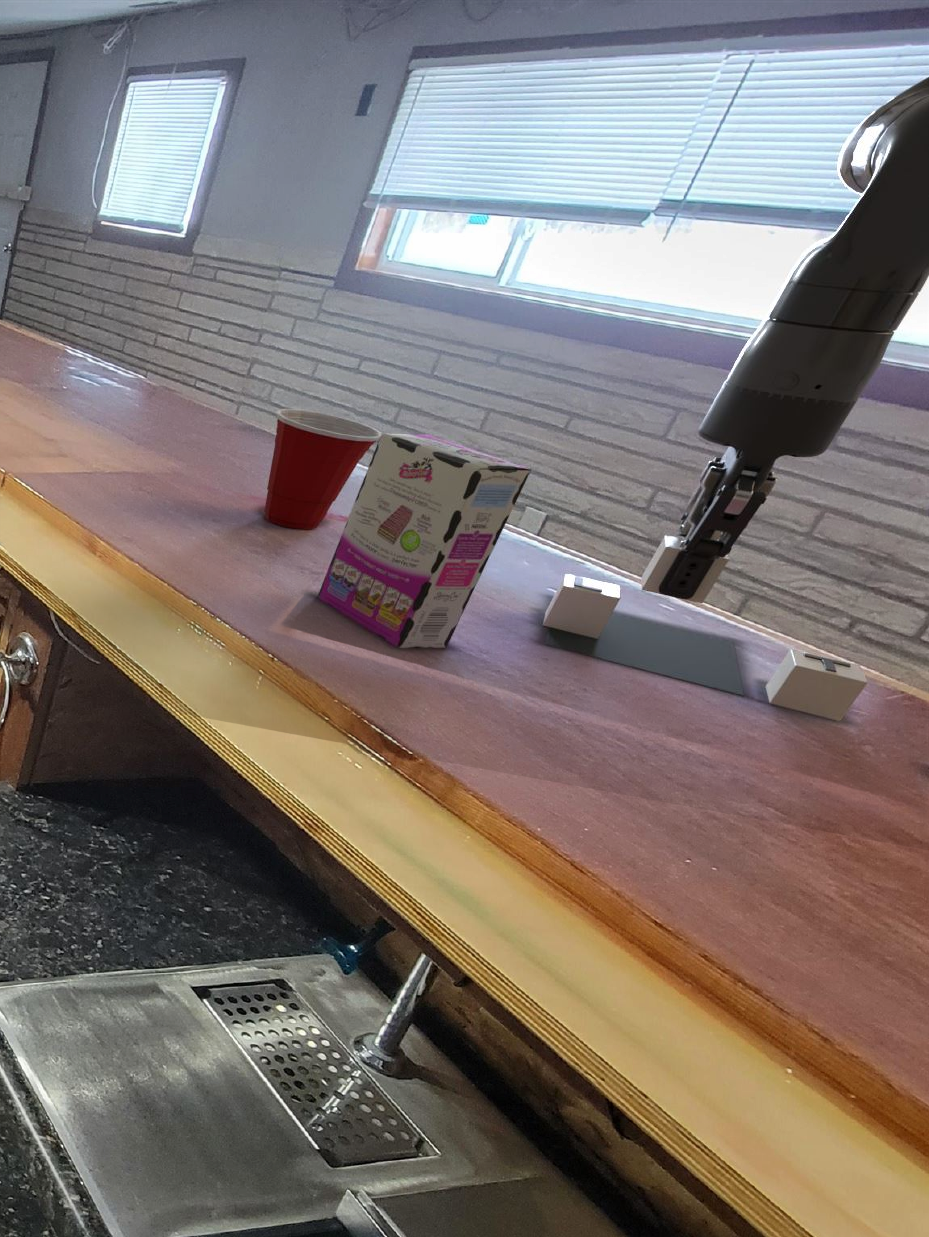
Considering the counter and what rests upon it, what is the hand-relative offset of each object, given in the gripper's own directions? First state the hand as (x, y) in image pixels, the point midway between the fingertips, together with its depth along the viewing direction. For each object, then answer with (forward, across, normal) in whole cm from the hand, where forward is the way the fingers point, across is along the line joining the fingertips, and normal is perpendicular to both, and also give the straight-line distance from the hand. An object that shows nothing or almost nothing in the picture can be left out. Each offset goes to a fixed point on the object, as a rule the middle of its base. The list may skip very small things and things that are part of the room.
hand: (672, 587), depth 84 cm
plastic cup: (+6, +15, +31) cm, 35 cm away
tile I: (0, 0, 0) cm, 0 cm away
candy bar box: (+6, -12, +18) cm, 23 cm away
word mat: (+6, 0, 0) cm, 6 cm away
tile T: (+6, -5, -10) cm, 13 cm away
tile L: (+5, 0, +5) cm, 7 cm away
